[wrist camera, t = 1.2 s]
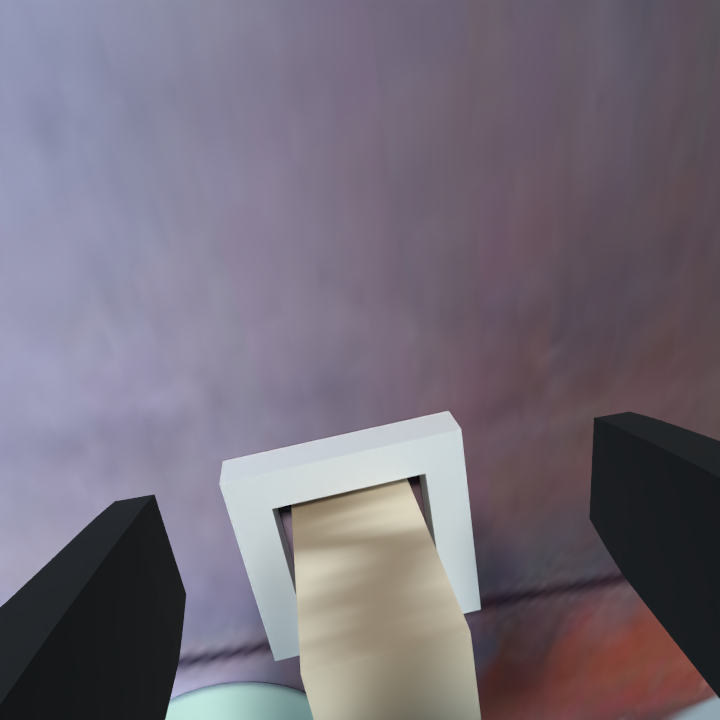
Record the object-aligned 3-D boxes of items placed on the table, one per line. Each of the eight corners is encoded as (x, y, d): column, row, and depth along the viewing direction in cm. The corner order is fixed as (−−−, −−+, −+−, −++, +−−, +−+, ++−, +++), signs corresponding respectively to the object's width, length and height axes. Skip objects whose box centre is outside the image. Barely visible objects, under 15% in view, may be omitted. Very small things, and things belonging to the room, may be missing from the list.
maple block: (313, 581, 23) (333, 785, 16) (290, 493, 21) (301, 675, 14) (417, 556, 23) (483, 743, 16) (402, 468, 22) (470, 631, 14)
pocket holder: (274, 631, 24) (275, 661, 22) (223, 461, 20) (219, 483, 19) (469, 583, 24) (480, 609, 23) (448, 410, 21) (461, 429, 20)
